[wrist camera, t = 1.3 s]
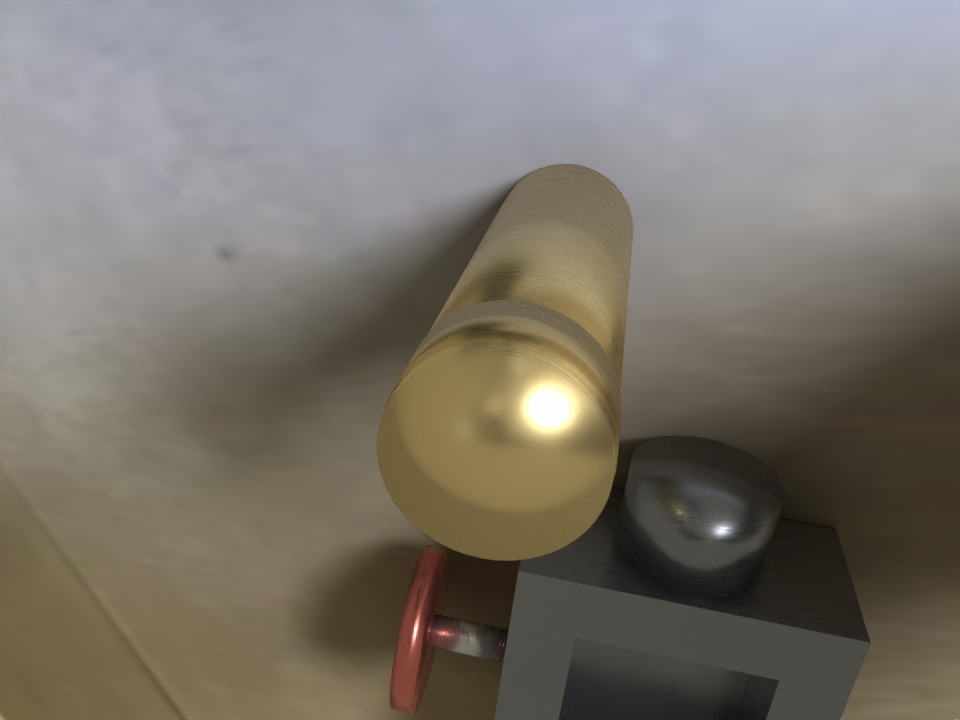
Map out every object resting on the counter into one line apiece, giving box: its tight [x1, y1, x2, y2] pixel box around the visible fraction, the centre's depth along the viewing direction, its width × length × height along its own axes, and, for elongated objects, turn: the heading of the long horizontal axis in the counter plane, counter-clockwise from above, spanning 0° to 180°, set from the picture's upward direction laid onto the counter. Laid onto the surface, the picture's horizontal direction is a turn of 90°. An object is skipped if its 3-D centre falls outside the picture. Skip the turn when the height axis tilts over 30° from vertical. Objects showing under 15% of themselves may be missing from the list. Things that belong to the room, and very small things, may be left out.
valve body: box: [390, 436, 870, 720], centre depth 34 cm, size 17×15×6 cm
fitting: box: [377, 164, 633, 561], centre depth 24 cm, size 5×5×15 cm
